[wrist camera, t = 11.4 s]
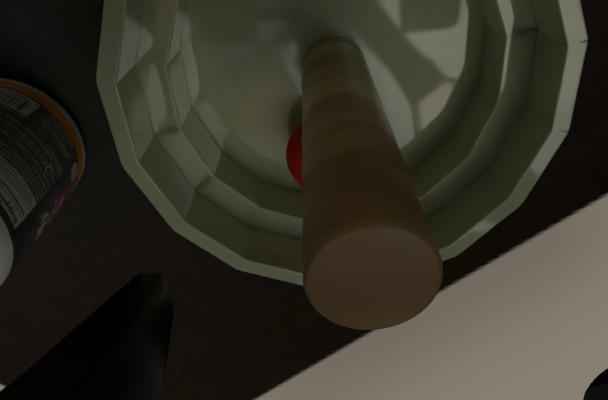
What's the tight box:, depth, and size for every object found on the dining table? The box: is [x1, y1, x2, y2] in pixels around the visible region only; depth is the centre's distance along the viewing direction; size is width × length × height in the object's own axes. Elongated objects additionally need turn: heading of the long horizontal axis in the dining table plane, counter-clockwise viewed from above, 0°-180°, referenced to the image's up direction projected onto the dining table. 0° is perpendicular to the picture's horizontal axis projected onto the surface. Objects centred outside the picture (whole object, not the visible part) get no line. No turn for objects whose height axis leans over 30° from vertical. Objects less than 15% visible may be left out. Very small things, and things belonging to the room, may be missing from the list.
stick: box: [302, 36, 443, 330], centre depth 14 cm, size 2×2×12 cm
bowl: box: [96, 0, 588, 286], centre depth 17 cm, size 14×14×5 cm
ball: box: [286, 123, 302, 186], centre depth 19 cm, size 3×3×3 cm
